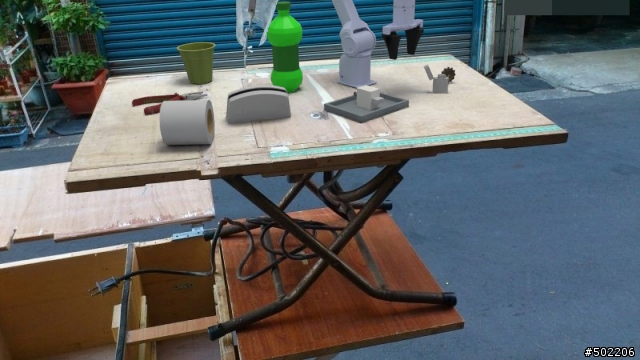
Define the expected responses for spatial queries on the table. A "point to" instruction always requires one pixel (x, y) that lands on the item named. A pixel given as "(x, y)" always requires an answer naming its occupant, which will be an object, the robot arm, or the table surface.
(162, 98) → the pliers
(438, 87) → the lighter
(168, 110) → the toilet paper
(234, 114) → the grey napkin holder
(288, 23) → the plastic bottle
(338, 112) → the tray
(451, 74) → the gear
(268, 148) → the table surface
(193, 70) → the plant pot
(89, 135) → the table surface
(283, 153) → the table surface
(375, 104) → the plug
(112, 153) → the table surface
